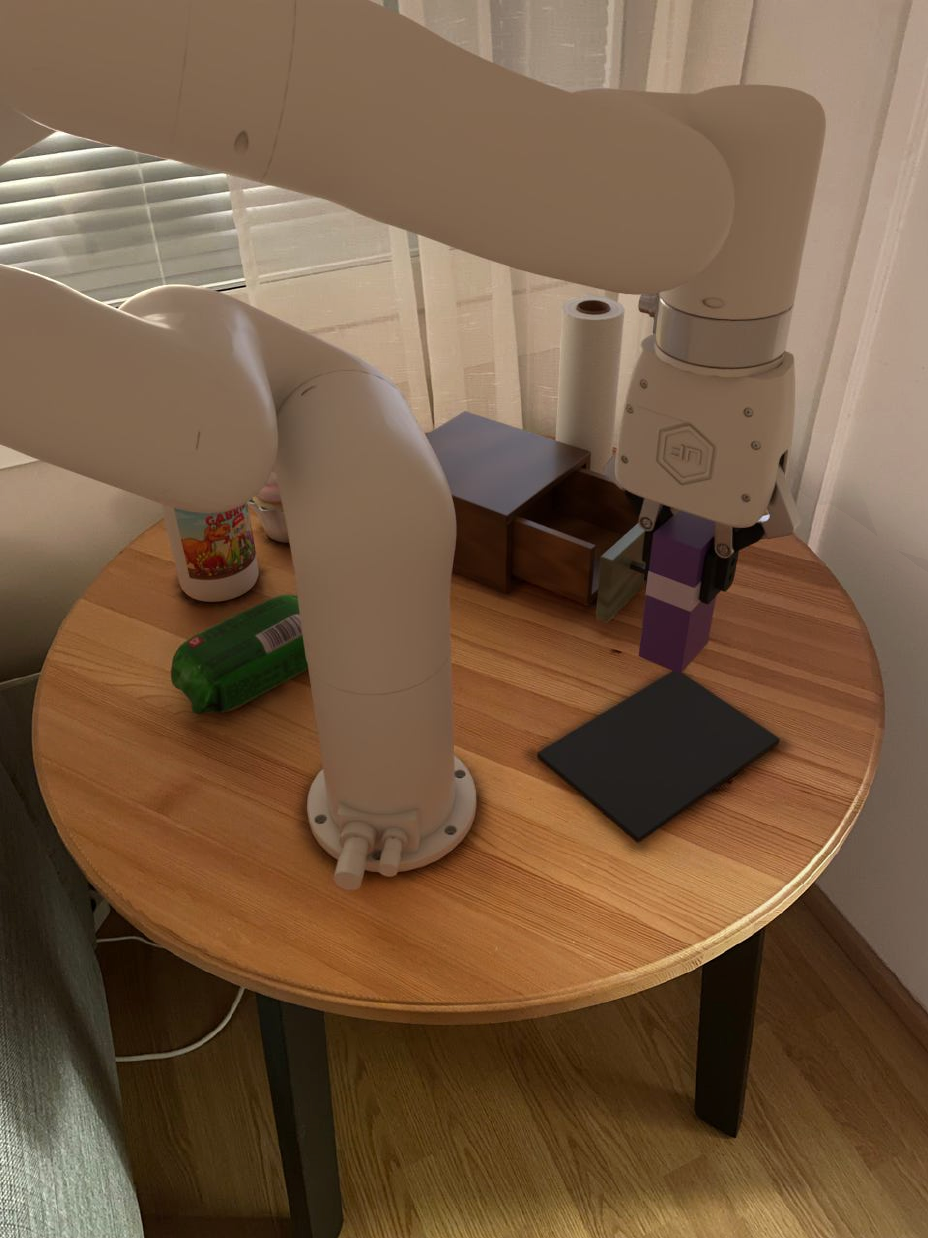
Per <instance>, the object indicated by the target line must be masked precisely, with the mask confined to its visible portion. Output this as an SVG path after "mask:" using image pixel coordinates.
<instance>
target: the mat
mask: <svg viewBox="0 0 928 1238" xmlns="http://www.w3.org/2000/svg"><path fill="white" fill-rule="evenodd" d="M779 744H780V737H778V736H776V735H775V734H774V733H772V732H771V731H769V730H768V729H766V728H765V727H764V726H762V725H760V724H758V722H756V721H754V720H753V719H751V718H750V717H749V716H747V715H746V714H744V713H743V712H742V711H740V710H738V709H737V708H735V707H734V706H732V704H730V703H727V702H726V701H725V700H724V699H722V698H720V697H719V696H717V695H716V694H715V693H713V692H712V691H710V690H708V689H707V688H706V687H704V686H703V685H701V684H700V683H698V682H697V681H695V680H694V679H692V678H691V677H690V676H688V675H687V674H685V673H683V672H682V673H681V674H679V673H676V672H674V671H672V670H671V671H670V672H669V673H667V674H665V675H663V676H661V677H660V678H658V679H656V680H655V681H654V682H652V683H650V684H649V685H647V686H645V687H644V688H642V689H640V690H639V691H637V692H635V693H634V694H632V695H631V696H629V697H627V698H626V699H624V700H622V701H620V702H619V703H617V704H616V705H614V706H613V707H611V708H609V709H607V710H606V711H603V712H602V713H601V714H599V715H597V716H596V717H594V718H592V719H591V720H589V721H588V722H585V723H584V724H582V725H581V726H579V727H578V728H576V729H574V730H572V731H571V732H569V733H568V734H566V735H564V736H563V737H561V738H559V739H557V740H556V741H555V742H552V743H551V744H550V745H547V746H546V747H545V748H543V749H541V750H540V751H538V752H537V753H536V754H537V759H538V760H539V761H540V762H542V763H543V764H544V765H545V766H547V767H548V768H549V769H550V770H551V771H552V772H554V773H555V774H556V775H557V776H558V777H559V778H561V779H562V780H563V781H564V782H565V783H566V784H568V785H569V786H570V787H571V788H572V789H574V790H575V791H576V792H577V793H578V794H580V795H581V796H582V797H583V798H584V799H585V800H587V801H588V802H589V803H590V804H592V806H593V807H595V808H596V809H597V810H598V811H600V812H601V813H602V814H603V815H605V817H607V818H608V819H609V820H610V821H612V823H614V824H615V825H616V826H617V827H618V828H620V829H621V830H622V831H623V832H625V834H627V835H628V836H629V837H631V838H632V840H634V841H635V842H636V843H638V844H639V843H641V842H642V841H644V840H645V839H647V838H648V837H649V836H650V835H652V834H654V832H657V831H658V830H659V829H660V828H662V827H664V826H665V825H666V824H668V823H669V822H671V821H672V820H673V819H674V818H676V817H677V816H679V815H680V814H682V813H683V812H685V811H686V810H687V809H688V808H690V807H691V806H693V805H694V804H696V803H697V802H699V801H700V800H701V799H703V798H704V797H706V796H707V795H708V794H710V793H711V792H713V791H714V790H715V789H717V788H718V787H720V786H721V785H722V784H724V783H725V782H727V781H728V780H729V779H731V778H732V777H734V776H735V775H737V774H738V773H739V772H741V771H742V770H744V769H745V768H747V767H748V766H749V765H751V764H752V763H753V762H755V761H756V760H758V759H760V758H761V757H762V756H764V755H765V754H766V753H768V752H769V751H771V750H772V749H773V748H775V747H776V746H777V745H779Z"/></svg>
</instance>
